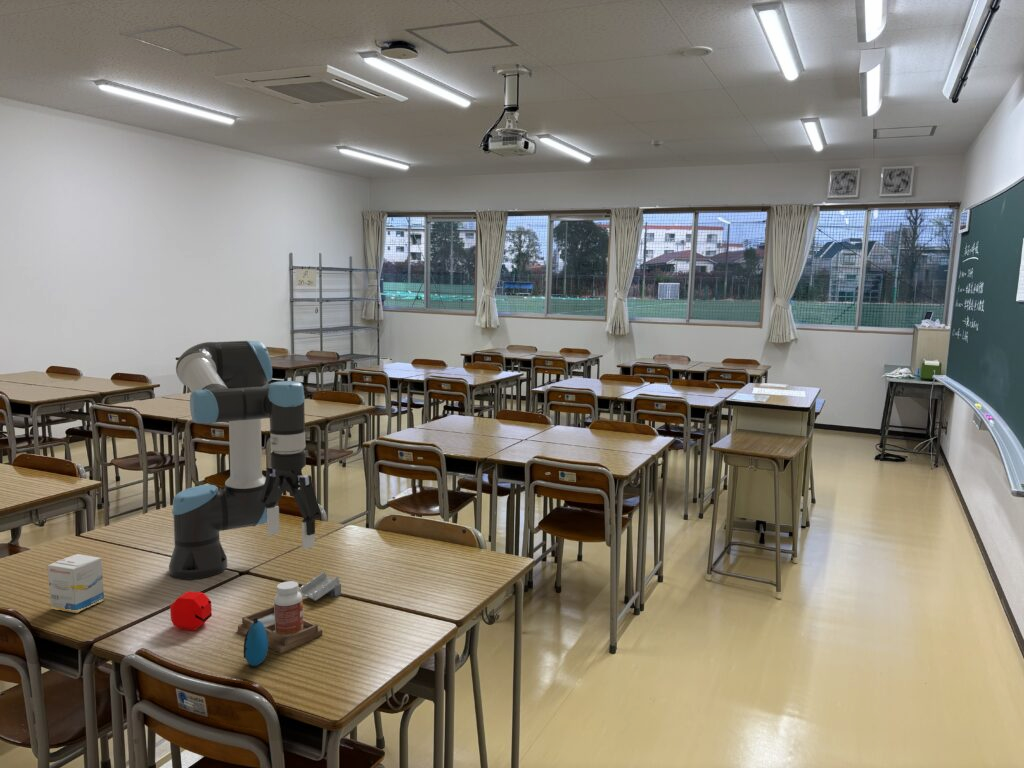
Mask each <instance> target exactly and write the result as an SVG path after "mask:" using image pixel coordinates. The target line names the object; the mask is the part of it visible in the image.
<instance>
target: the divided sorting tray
mask: <svg viewBox="0 0 1024 768" xmlns="http://www.w3.org/2000/svg"><path fill="white" fill-rule="evenodd" d="M254 618H257V619H258V621H261V622H262V624H263V625H264V627H265V630H266V633H267V637H268V648H270V649H272V650H274V651H276V652H278V653H279V654H283V653H285V652H287V651H290V650H292V649H294V648H296V647H298V646H300V645H303V644H305V643H308V642H310V641H311V640H314V639H316V638H319V637H320V636H322V635H323V629H321V628H319V625H318V624H316V623H314V622H311V621H310V620H307V619H305V618H303V630H302V631H300V632H298V633H295V634H293V635H291V636H288V637H283V636H281V635H279V634H277V633H276V632H275V615H274V605H272V606H270V607H267V608H264V609H261V610H259V611H257V612H254V613H252V614H249V615H246V616H244V617H242V619H241V622H242V624H238V625H237V631H238V632H240V633H242V634H243V635H245V636H246V634H247V631H248V630H249V628H250V626H251V625H252V624H253V623H254Z"/></svg>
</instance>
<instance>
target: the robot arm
mask: <svg viewBox="0 0 1024 768" xmlns="http://www.w3.org/2000/svg"><path fill="white" fill-rule="evenodd" d="M271 361H272V360H271V357H270V354H269V350H268V347H267V346H266V345H265V344H264V343H263V342H261V341H257V340H256V341H255V340H237V341H236V340H235V341H234V340H233V341H231V340H230V341H206V342H202V343H198V344H196V345H193V346H191V347H189V348H187V350H185V351H184V352H183V353H182V354H181V355H180V356H179V358H178V359H177V361H176V366H175V371H176V373H175V374H176V375H177V377H178V379H179V381H180V383H182V385H184V386H186V387H188V388H189V390H190V392H191V393H190V396H189V408H190V409H189V411H190V416H191V419H192V421H193V423H195V424H216V423H224V422H228V429H229V430H228V436H229V437H228V439H229V463H230V464H229V466H230V467H229V468H230V469H229V471H230V472H229V473H230V475H229V477H228V478H227V479H226V480H225V481H224V482H225V483H224V488H223V489H219V488H218V487H217V485H214V484H207V485H205V484H202V485H201V484H200V485H196V486H192V487H188V488H186V489H183V490H181V491H180V492H177V494H175V496H174V497H173V499H172V510H171V513H172V515H173V518H172V519H173V533H174V534H173V536H174V537H173V539H174V540H173V541H174V548H173V550H172V553H171V554H172V555H171V557H170V561H169V564H168V573H169V576H170V575H171V576H172V578H173V577H174V579H177V578H178V579H179V580H197V579H198V580H199V579H203V578H209V577H213V576H215V575H218V574H220V573H222V572H224V571H225V570H226V569H227V568H228V557H227V556H226V553H225V550H224V548H223V546H222V543H221V541H220V532H221V531H223V532H224V531H228V530H234V529H236V530H237V529H243V528H248V527H249V528H250V527H256V526H258V525H265V524H267V525H266V527H267V536H269V537H270V536H275V535H277V534H280V532H281V531H280V507H279V500H280V499H281V497H282V495H283V494H284V492H285V491H286V492H287V493H289V494H290V495H291V497H293V498H294V500H295V503H296V505H297V507H298V508H299V511H300V514H301V516H302V518H303V519H302V520H301V539H302V541H301V543H302V544H301V545H302V546H301V547H302V548H301V549H302V550H304V551H305V550H308V549H311V548H314V547H316V546H315V545H316V544H315V541H316V540H315V534H316V520H318V519H322V517H323V516H322V512H321V510H320V505H319V503H318V500H317V496H316V493H315V489H314V486H313V479H312V478H313V477H312V475H311V474H307V475H303V472H302V470H303V468H304V467H306V464H307V460H306V459H307V458H306V457H307V456H306V451H305V448H306V446H307V444H306V422H305V420H306V417H305V413H306V412H305V401H306V396H305V392H304V391H305V390H304V385H303V383H301V382H299V381H292V380H287V381H286V380H283V381H281V380H280V381H274V382H272V383H269V382H271V381H272V380H273V366H272V362H271ZM266 383H267V384H266ZM262 419H269V432H270V439H269V442H270V450H271V453H270V466H269V467H266V476H264V474H263V459H262V452H263V449H262ZM171 576H170V577H171Z"/></svg>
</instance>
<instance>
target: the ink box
mask: <svg viewBox="0 0 1024 768" xmlns="http://www.w3.org/2000/svg"><path fill="white" fill-rule="evenodd" d="M102 562H103V561H102V558H101V557H96V556H91V555H87V554H86V555H85V554H81V553H76V554H73V555H70V556H68V557H65V558H62V559H59V560H57V561H55V562H53V563H50V564H47V577H48V586H49V587H48V589H49V600H50V606H51V605H52V606H55V607H60V608H65V609H71V610H78V609H81V608H84V607H87V606H89V605H91V604H93V603H95V602H97V601H99V600H101V599H103V598H104V599H105V596H104V595H105V593H104V582H103V581H104V579H103V566H102V565H103V564H102Z"/></svg>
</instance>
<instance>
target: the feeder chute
mask: <svg viewBox="0 0 1024 768" xmlns="http://www.w3.org/2000/svg"><path fill="white" fill-rule="evenodd" d="M298 590H299V592H300V593H301V595H302V597H306V598H308V599H311V600H313V601H317V600H319V599H320V598H322V597H324V595H329V596H332V597H333V598H336V597H339V596H341V595H342V584H341V583H340V578H339V576H335V577H333V578H332V577H329V576H327V573H326V571H322V572H321V573H319V574H317V575H316V576H315V577H313V578H312V579H310V580H309V581H307V582H306V583H304V584H303V585H302V586H299V589H298Z"/></svg>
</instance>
